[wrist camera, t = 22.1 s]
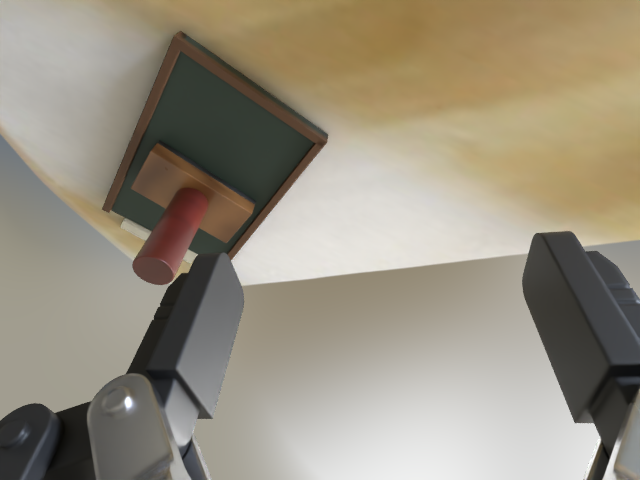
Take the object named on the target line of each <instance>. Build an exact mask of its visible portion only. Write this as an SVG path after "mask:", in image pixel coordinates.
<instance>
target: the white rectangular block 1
mask: <svg viewBox="0 0 640 480" xmlns="http://www.w3.org/2000/svg"><path fill="white" fill-rule="evenodd" d="M120 228H122V229H124V230H126V231H128V232H130V233H132V234H133V235H135V236H137V237H139V238H141V239H143V240H144V241H146V240H147V238H148V237H149V235H150V234H151V231H149V230H147V229H146V228H144V227H142V226H140V225H138V224H137V223H135V222H133V221H131V220H129V219H127V218H125V219H124V220H123V222H122V224H121V226H120Z"/></svg>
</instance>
